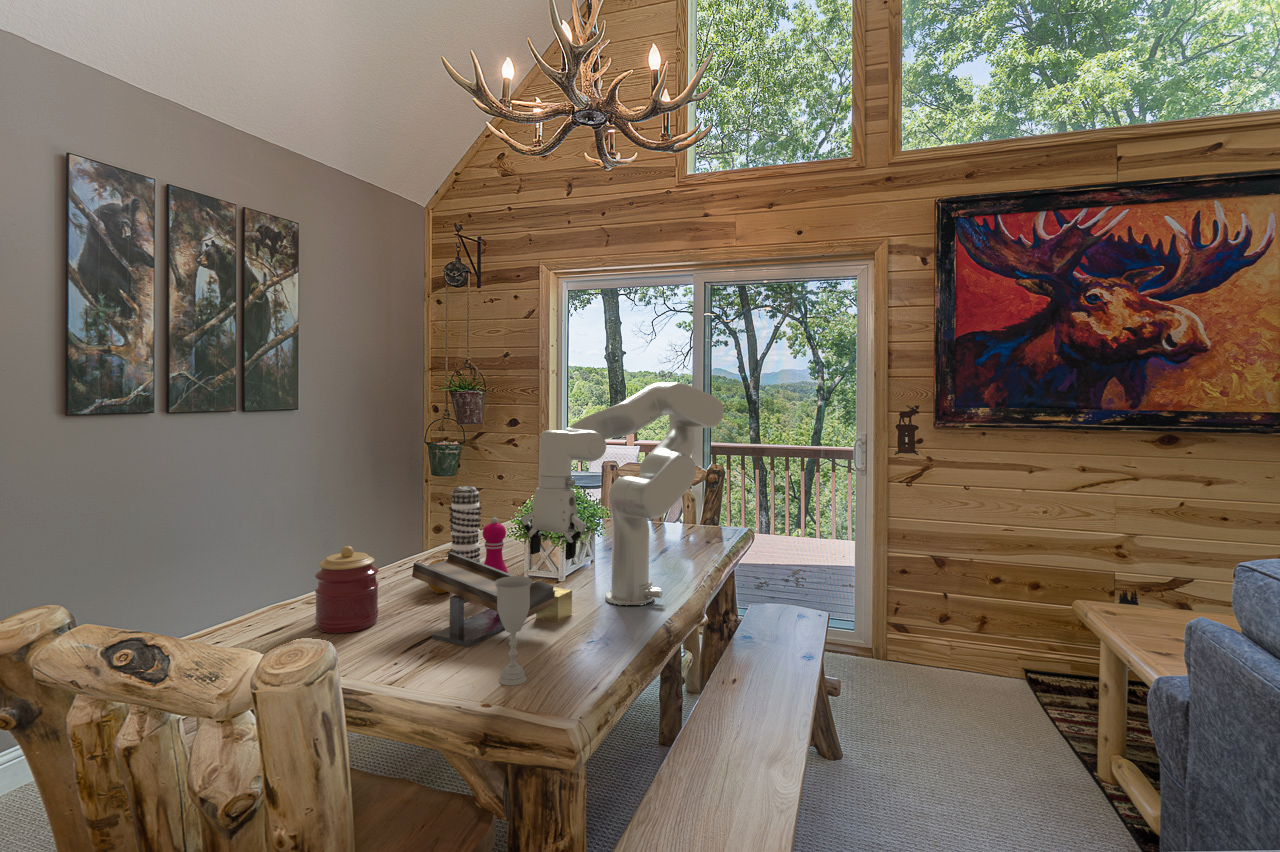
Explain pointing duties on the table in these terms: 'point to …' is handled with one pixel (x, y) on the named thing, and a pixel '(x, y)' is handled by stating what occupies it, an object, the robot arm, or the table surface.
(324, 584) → the canister
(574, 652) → the table surface
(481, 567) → the beam
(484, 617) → the stand
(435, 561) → the apple
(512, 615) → the chalice
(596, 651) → the table surface
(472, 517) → the decorative candle
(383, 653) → the table surface
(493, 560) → the pepper mill
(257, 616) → the table surface
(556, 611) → the block
